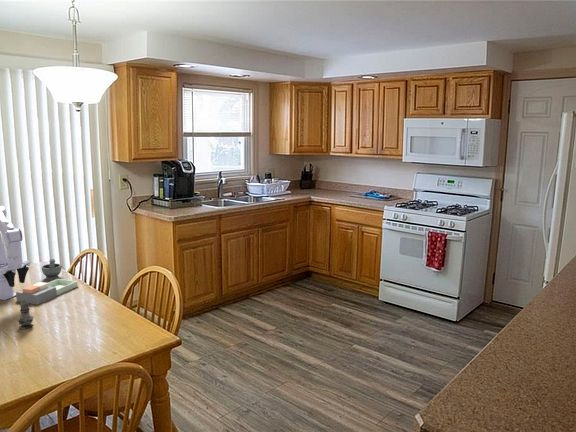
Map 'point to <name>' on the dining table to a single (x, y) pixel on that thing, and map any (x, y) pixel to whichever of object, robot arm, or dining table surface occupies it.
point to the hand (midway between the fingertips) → (17, 284)
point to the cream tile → (41, 285)
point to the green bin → (62, 285)
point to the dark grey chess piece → (25, 316)
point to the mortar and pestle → (51, 270)
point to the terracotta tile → (31, 289)
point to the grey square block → (37, 295)
